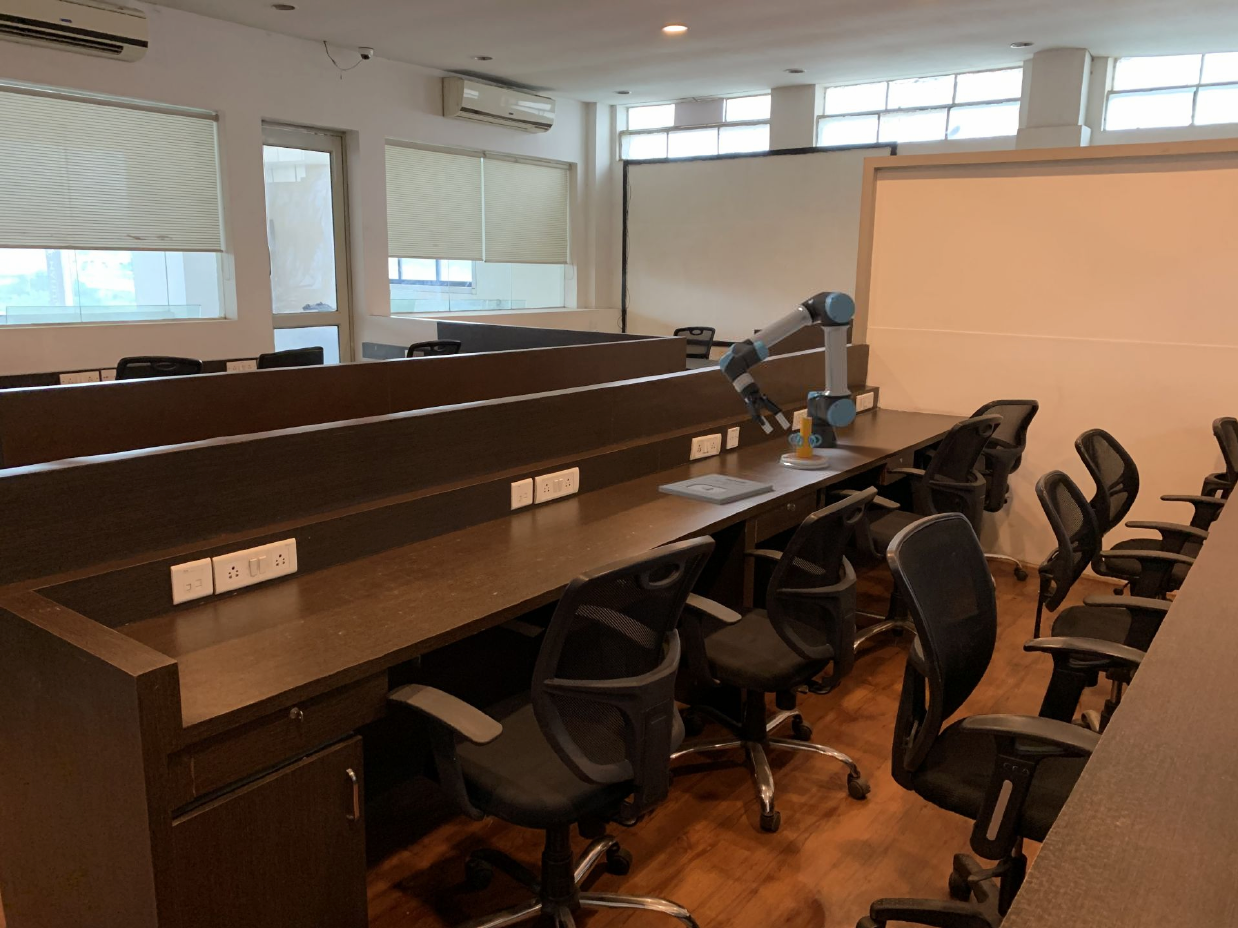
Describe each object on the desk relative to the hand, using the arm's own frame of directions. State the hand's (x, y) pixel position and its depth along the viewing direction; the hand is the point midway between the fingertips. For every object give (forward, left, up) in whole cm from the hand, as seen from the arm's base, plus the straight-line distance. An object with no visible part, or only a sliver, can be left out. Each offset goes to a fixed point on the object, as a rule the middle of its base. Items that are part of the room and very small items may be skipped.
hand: (779, 429), depth 357 cm
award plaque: (+34, +50, -13) cm, 62 cm away
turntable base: (-8, +8, -12) cm, 17 cm away
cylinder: (-8, +8, -9) cm, 15 cm away
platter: (-8, +8, -11) cm, 16 cm away
